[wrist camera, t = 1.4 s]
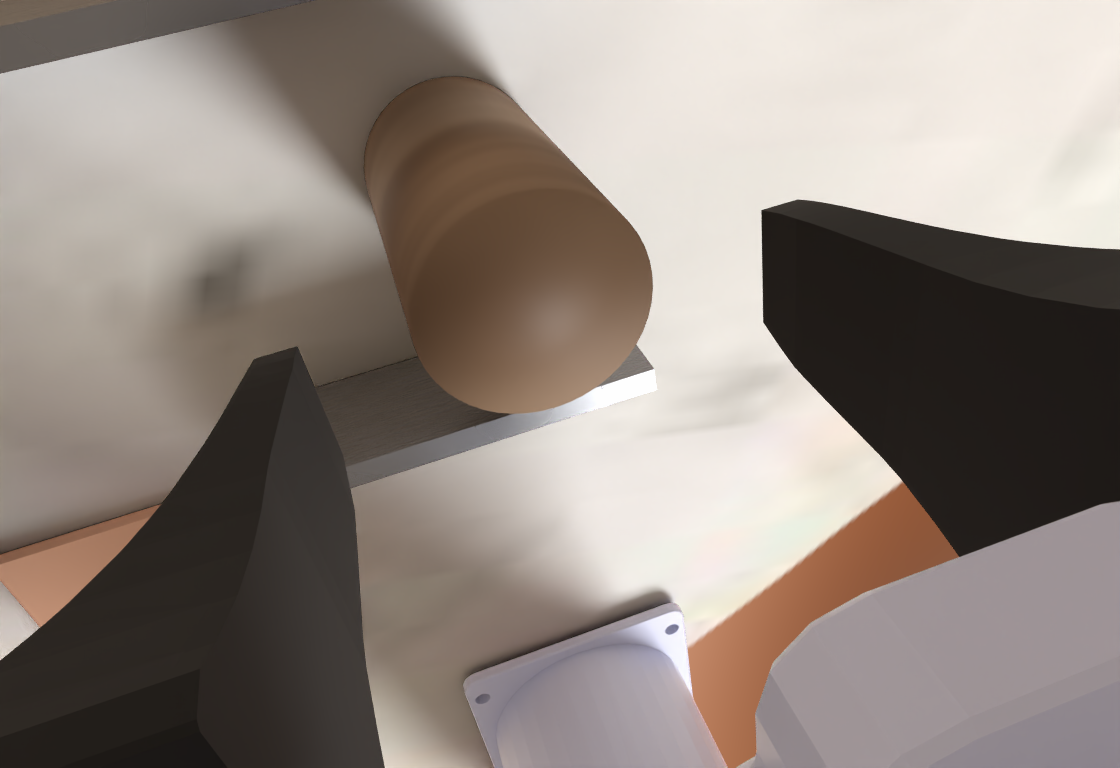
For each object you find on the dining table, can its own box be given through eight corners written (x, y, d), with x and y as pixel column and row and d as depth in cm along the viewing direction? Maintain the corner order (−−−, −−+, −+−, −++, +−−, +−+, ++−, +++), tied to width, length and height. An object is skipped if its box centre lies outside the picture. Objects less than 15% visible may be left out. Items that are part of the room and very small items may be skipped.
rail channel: (615, 376, 23) (663, 450, 20) (-62, 591, 21) (-113, 709, 18) (540, -119, 16) (598, -109, 13) (-505, 113, 14) (-706, 184, 11)
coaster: (355, 634, 26) (356, 644, 25) (125, 713, 25) (123, 725, 24) (273, 468, 22) (273, 478, 21) (-7, 556, 21) (-11, 567, 20)
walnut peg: (551, 224, 20) (662, 373, 15) (392, 269, 20) (444, 442, 14) (521, 56, 18) (639, 157, 12) (339, 101, 17) (376, 230, 12)
